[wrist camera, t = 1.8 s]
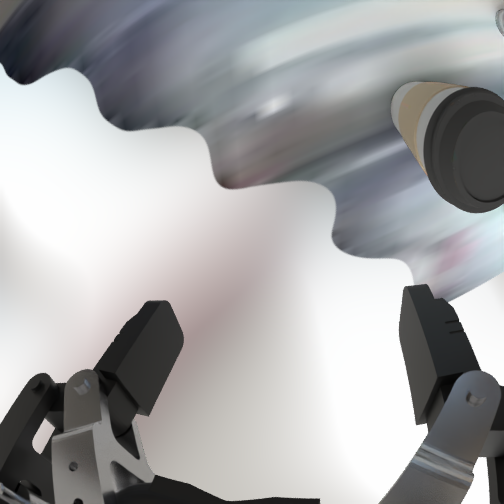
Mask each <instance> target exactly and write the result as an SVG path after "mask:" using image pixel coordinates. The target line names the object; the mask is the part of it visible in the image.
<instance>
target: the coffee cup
mask: <svg viewBox="0 0 504 504" xmlns="http://www.w3.org/2000/svg"><path fill="white" fill-rule="evenodd" d="M391 116H392V120H393V123H394V125H395V127H396V128H397V130H398V131H399V133H400V134H401V135H402V137H403V139H404V141H405V143H406V144H407V146H408V147H409V149H410V150H411V152H412V153H413V155H414V156H415V158H416V159H417V161H418V163H419V164H420V166H421V167H422V169H423V171H424V172H425V173H426V175H427V176H428V178H429V180H430V182H431V184H432V186H433V187H434V189H435V190H436V192H437V193H438V194H439V195H440V196H441V197H442V198H443V199H444V200H446V201H447V202H449V203H451V204H453V205H454V206H456V207H457V208H459V209H461V210H463V211H466V212H470V213H484V212H488V211H491V210H494V209H496V208H498V207H499V206H501V205H502V204H503V203H504V100H503V99H502V98H501V97H499V96H498V95H497V94H495V93H493V92H491V91H489V90H487V89H483V88H478V87H467V86H461V85H455V84H447V83H439V82H417V81H414V82H409V83H406V84H404V85H403V86H401V87H400V88H399V89H398V90H397V91H396V93H395V94H394V96H393V99H392V102H391Z"/></svg>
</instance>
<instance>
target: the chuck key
mask: <svg viewBox="0 0 504 504" xmlns="http://www.w3.org/2000/svg"><path fill="white" fill-rule="evenodd" d="M496 24H497V27H498V29H499V31H500V32H501V34H502V35H503V36H504V10H499V11H498V12H497V14H496Z"/></svg>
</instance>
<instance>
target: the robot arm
mask: <svg viewBox="0 0 504 504" xmlns="http://www.w3.org/2000/svg"><path fill="white" fill-rule="evenodd" d="M399 337H400V343H401V347H402V352H403V356H404V361H405V365H406V370H407V375H408V380H409V385H410V390H411V396H412V402H413V408H414V414H415V421H416V425H420V424H425V423H427V427H428V435H427V436H426V438H425V439H424V441H423V443H422V444H421V446H420V448H419V449H418V451H417V452H416V454H415V455H414V457H413V458H412V460H411V461H410V463H409V464H408V466H407V467H406V469H405V470H404V471H403V473H402V474H401V476H400V477H399V478H398V480H397V481H396V482H395V484H394V485H393V486H392V488H391V489H390V490H389V491H388V493H387V494H386V495H385V496H384V498H383V499H382V500H381V501H380V502H379V504H461V502H462V501H463V499H464V497H465V495H466V494H467V492H468V490H469V488H470V486H471V484H472V481H473V478H474V474H473V473H472V470H473V468H474V465H475V463H476V461H477V459H478V457H486V458H487V467H488V476H489V492H490V504H504V386H500V385H499V384H498V382H497V381H496V379H495V378H494V377H493V376H492V375H490V374H488V373H486V372H483V371H481V369H480V367H479V364H478V361H477V359H476V356H475V354H474V352H473V349H472V347H471V344H470V342H469V340H468V338H467V335H466V333H465V332H464V329H463V327H462V324H461V322H459V318H458V316H457V314H456V312H455V310H454V308H453V307H452V306H451V305H450V304H449V303H448V302H446V301H445V300H444V299H443V298H440V299H434V297H433V294H432V292H431V290H430V288H429V286H428V285H427V284H422V285H414V286H405V287H404V290H403V297H402V307H401V314H400V322H399ZM183 343H184V337H183V332H182V330H181V327H180V325H179V323H178V321H177V318H176V316H175V314H174V311H173V309H172V307H171V305H170V303H169V302H168V301H165V300H163V301H147V302H146V303H145V304H144V305H143V307H142V308H141V309H140V311H139V312H138V313H137V314H136V315H135V316H134V317H132V318H131V319H130V320H129V321H127V322H126V324H125V325H124V326H123V328H122V329H121V331H120V334H118V335H117V336H116V337H115V339H114V342H112V343H111V345H110V346H109V347H108V349H107V350H106V352H105V353H104V354H103V356H102V357H101V359H100V360H99V362H98V363H97V365H96V366H95V367H94V369H93V370H90V369H85V370H81V371H79V372H77V373H75V374H74V375H73V376H72V377H71V378H70V379H69V380H68V381H67V383H55V382H54V381H53V380H52V379H51V377H50V376H49V375H48V374H46V373H40V374H37V375H35V376H34V377H32V378H31V379H30V380H29V381H28V383H27V384H26V386H25V387H24V388H23V390H22V391H21V393H20V395H19V396H18V398H17V399H16V400H15V402H14V404H13V405H12V406H11V408H10V410H9V411H8V413H7V414H6V416H5V418H4V419H3V421H2V422H1V424H0V504H320V499H305V498H304V499H303V498H281V497H272V498H264V499H254V500H244V501H225V500H223V499H220V498H218V497H216V496H213V495H211V494H209V493H207V492H205V491H203V490H201V489H199V488H197V487H195V486H193V485H191V484H188V483H183V482H180V481H175V480H172V479H168V478H165V477H161V476H158V475H155V474H154V473H153V472H152V470H151V469H150V467H149V465H148V463H147V460H146V457H145V453H144V449H143V446H142V442H141V438H140V434H139V431H138V426H137V423H136V421H135V420H134V417H135V415H136V414H140V415H145V416H149V415H150V413H151V411H152V409H153V406H154V404H155V402H156V400H157V398H158V396H159V394H160V392H161V390H162V388H163V386H164V384H165V382H166V380H167V377H168V376H169V373H170V372H171V370H172V368H173V365H174V363H175V361H176V359H177V357H178V355H179V353H180V351H181V349H182V347H183ZM44 418H45V419H47V421H48V422H50V423H51V424H52V425H53V426H54V427H55V430H54V431H53V433H52V435H51V437H50V439H49V441H48V443H47V444H46V446H45V448H44V450H43V452H42V453H41V454H39V453H37V452H36V451H35V450H34V448H33V446H32V440H33V438H34V436H35V434H36V432H37V431H38V429H39V427H40V425H41V424H42V422H43V420H44ZM20 481H21V482H20Z"/></svg>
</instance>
